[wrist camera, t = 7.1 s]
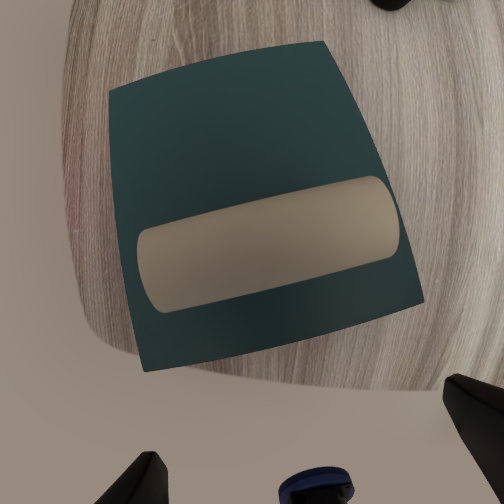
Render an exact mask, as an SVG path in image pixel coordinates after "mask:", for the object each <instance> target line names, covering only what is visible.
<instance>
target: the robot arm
mask: <svg viewBox="0 0 504 504" xmlns="http://www.w3.org/2000/svg"><path fill="white" fill-rule="evenodd" d="M443 402H444V405H445V407H446V409H447V410H448V413H449V415H450V417H451V418H452V420H453V423H454V425H455V427H456V429H457V431H458V433H459V435H460V437H461V439H462V440H463V442H464V444H465V445H466V447H467V448H468V450H469V451H470V453H471V455H472V456H473V458H474V459H475V461H476V463H477V464H478V466H479V467H480V469H481V471H482V472H483V474H484V476H485V477H486V479H487V481H488V482H489V484H490V486H491V487H492V489H493V491H494V492H495V494H496V496H497V498H498V499H499V501H500V503H501V504H504V389H503V388H500V387H497V386H494V385H491V384H488V383H485V382H482V381H479V380H476V379H473V378H470V377H467V376H464V375H461V374H458V373H456V374H453V375H451V376H449V377H447V378H446V379H445V383H444V390H443ZM351 489H352V483H351V482H344V483H340V484H335V485H329V486H324V487H318V488H312V489H305V490H298V491H292V492H290V493H289V497H288V504H347V500H348V497H349V494H350V491H351ZM94 504H169V498H168V471H167V467H166V465H165V464H164V463H163V461H162V460H161V458H160V457H159V455H158V454H157V453H156V452H155V451H146V452H142V453H141V454H140V455H139V456H138V457H137V458H136V460H135V461H134V462H133V463H132V464H131V465H130V466H129V467H128V468H127V470H126V471H125V472H124V473H123V474H122V475H121V476H120V477H119V478H118V479H117V480H116V481H115V482H114V483H113V485H111V486H110V488H109V489H108V490H107V491H106V492H105V493H104V494H103V495H102V496H101V497H100V498H99V499H98V500H97V501H96V502H95V503H94Z"/></svg>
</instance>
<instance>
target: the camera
mask: <svg viewBox="0 0 504 504" xmlns="http://www.w3.org/2000/svg"><path fill="white" fill-rule="evenodd" d="M409 1H411V0H372V2H373V3H374V4H376V5H377V6H379V7H381V8H383V9H386V10H389V11H390V10H398V9H400V8H402V7H403V6H404V5H406V4H407V3H408V2H409Z"/></svg>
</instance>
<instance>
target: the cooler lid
mask: <svg viewBox="0 0 504 504" xmlns="http://www.w3.org/2000/svg"><path fill="white" fill-rule="evenodd" d="M109 138H110V160H111V175H112V188H113V200H114V210H115V219H116V228H117V236H118V243H119V251H120V257H121V264H122V270H123V277H124V283H125V288H126V294H127V299H128V305H129V310H130V315H131V320H132V324H133V329H134V334H135V338H136V343H137V347H138V351H139V355H140V359H141V364H142V367H143V371H144V372H149V371H156V370H163V369H169V368H175V367H181V366H187V365H192V364H198V363H203V362H208V361H214V360H219V359H224V358H229V357H233V356H238V355H243V354H247V353H252V352H256V351H261V350H265V349H269V348H273V347H277V346H282V345H286V344H290V343H293V342H297V341H301V340H305V339H309V338H313V337H316V336H320V335H324V334H327V333H331V332H334V331H338V330H341V329H345V328H348V327H351V326H355V325H358V324H361V323H364V322H368V321H371V320H374V319H377V318H380V317H383V316H386V315H389V314H392V313H395V312H398V311H401V310H404V309H407V308H410V307H413V306H416V305H418V304H421V303H423V302H424V297H423V293H422V288H421V284H420V280H419V276H418V272H417V268H416V265H415V261H414V257H413V254H412V250H411V247H410V243H409V240H408V237H407V233H406V230H405V227H404V224H403V220H402V217H401V214H400V211H399V208H398V205H397V202H396V199H395V197H394V194H393V191H392V188H391V185H390V183H389V180H388V177H387V175H386V172H385V169H384V167H383V164H382V162H381V159H380V157H379V154H378V152H377V149H376V147H375V144H374V142H373V140H372V137H371V135H370V133H369V130H368V128H367V126H366V123H365V121H364V119H363V117H362V115H361V112H360V110H359V108H358V106H357V104H356V102H355V100H354V98H353V96H352V93H351V91H350V89H349V87H348V85H347V83H346V81H345V79H344V78H343V76H342V74H341V72H340V70H339V68H338V66H337V64H336V62H335V60H334V59H333V57H332V55H331V53H330V51H329V50H328V48H327V46H326V44H325V43H324V41H314V42H305V43H296V44H288V45H281V46H274V47H268V48H262V49H256V50H251V51H245V52H240V53H235V54H230V55H226V56H221V57H217V58H213V59H208V60H204V61H200V62H197V63H193V64H189V65H185V66H182V67H178V68H175V69H172V70H168V71H165V72H162V73H159V74H155V75H152V76H149V77H146V78H143V79H140V80H138V81H135V82H132V83H129V84H126V85H124V86H121V87H118V88H116V89H113V90H111V91H109Z"/></svg>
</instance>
